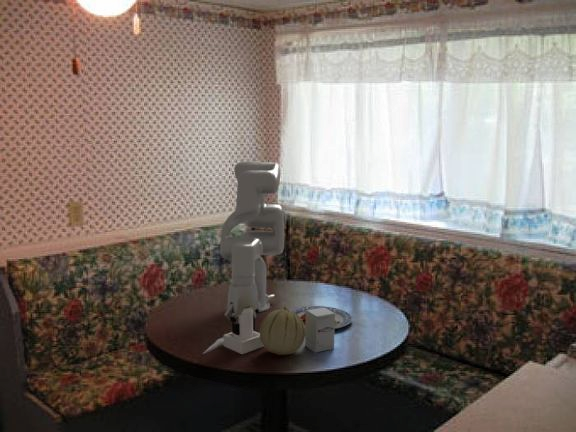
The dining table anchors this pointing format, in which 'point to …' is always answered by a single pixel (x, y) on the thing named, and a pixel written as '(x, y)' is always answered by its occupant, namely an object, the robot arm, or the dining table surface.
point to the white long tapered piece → (215, 345)
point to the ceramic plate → (340, 315)
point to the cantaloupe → (282, 332)
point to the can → (245, 324)
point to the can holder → (242, 343)
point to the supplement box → (319, 329)
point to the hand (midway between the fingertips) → (243, 331)
